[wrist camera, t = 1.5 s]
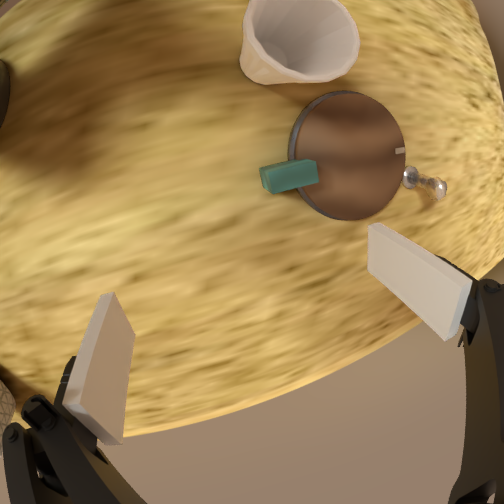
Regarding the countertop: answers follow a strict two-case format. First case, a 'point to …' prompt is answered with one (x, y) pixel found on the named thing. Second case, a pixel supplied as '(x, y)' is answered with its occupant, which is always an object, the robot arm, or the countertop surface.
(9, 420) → the planter
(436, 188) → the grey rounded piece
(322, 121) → the brown and teal disc
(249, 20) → the cup
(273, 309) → the countertop surface
